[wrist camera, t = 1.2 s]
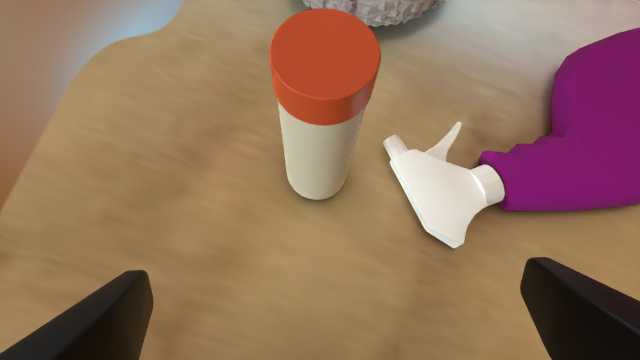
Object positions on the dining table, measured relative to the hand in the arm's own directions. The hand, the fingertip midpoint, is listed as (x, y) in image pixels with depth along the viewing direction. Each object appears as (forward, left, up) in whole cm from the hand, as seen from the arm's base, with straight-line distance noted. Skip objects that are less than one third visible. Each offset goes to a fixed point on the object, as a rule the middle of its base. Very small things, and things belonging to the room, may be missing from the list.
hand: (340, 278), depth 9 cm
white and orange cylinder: (+6, -4, -13) cm, 15 cm away
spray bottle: (-2, -19, -13) cm, 24 cm away
